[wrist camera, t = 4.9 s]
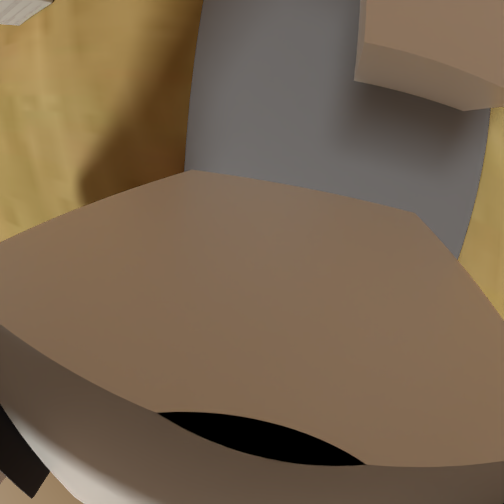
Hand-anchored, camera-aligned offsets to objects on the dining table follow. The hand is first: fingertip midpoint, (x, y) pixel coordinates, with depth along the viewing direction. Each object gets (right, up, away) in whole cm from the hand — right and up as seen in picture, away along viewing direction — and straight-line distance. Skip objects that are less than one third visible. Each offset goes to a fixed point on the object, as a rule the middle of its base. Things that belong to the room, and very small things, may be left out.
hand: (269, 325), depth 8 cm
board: (+5, +10, +9) cm, 14 cm away
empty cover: (+1, +1, +2) cm, 2 cm away
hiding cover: (+9, +14, +4) cm, 17 cm away
